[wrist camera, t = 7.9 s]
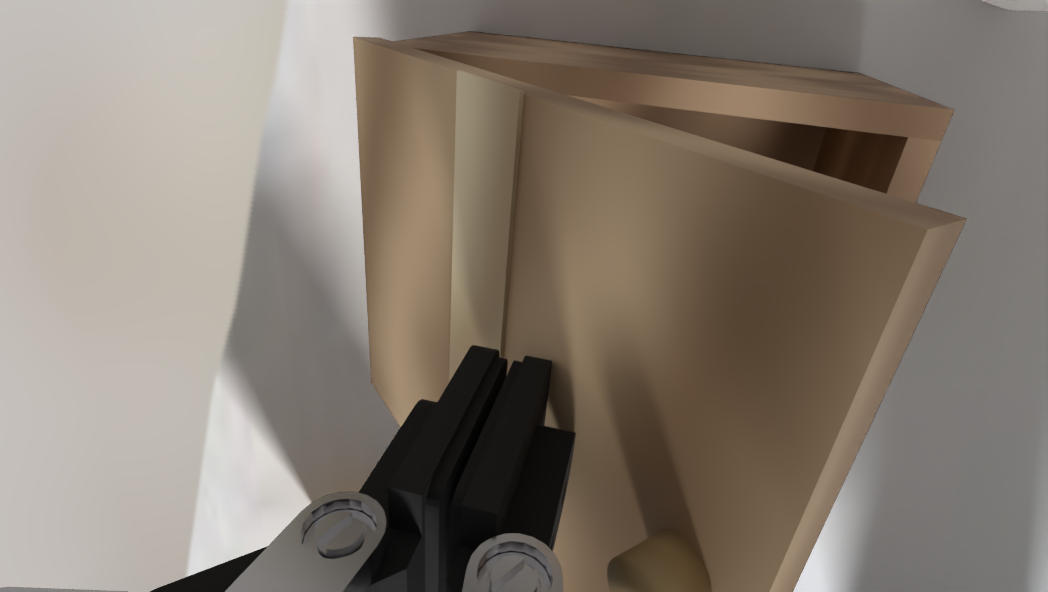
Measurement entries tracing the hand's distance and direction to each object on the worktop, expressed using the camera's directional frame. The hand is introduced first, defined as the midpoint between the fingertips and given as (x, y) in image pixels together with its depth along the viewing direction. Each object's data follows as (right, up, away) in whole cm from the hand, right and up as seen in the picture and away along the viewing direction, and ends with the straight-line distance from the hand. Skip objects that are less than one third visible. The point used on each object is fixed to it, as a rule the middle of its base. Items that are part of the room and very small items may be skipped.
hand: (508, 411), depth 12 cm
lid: (0, +1, +2) cm, 3 cm away
